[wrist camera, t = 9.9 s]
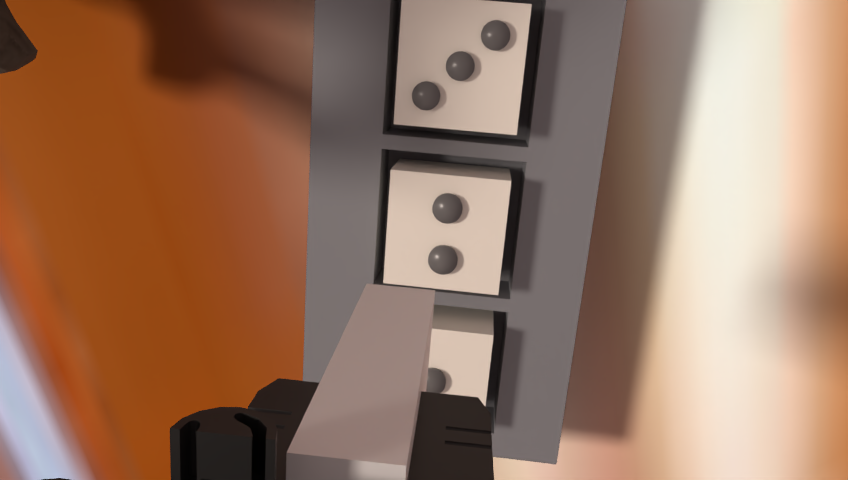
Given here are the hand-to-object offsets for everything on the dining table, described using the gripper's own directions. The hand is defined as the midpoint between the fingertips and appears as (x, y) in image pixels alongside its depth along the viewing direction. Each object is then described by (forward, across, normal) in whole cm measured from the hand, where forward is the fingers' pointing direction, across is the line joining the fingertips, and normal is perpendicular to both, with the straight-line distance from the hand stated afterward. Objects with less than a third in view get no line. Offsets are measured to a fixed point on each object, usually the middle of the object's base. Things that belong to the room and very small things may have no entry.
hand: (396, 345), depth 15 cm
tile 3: (+11, +1, +6) cm, 12 cm away
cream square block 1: (+11, +1, -5) cm, 12 cm away
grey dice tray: (+13, +1, 0) cm, 13 cm away
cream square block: (+11, +1, 0) cm, 11 cm away
